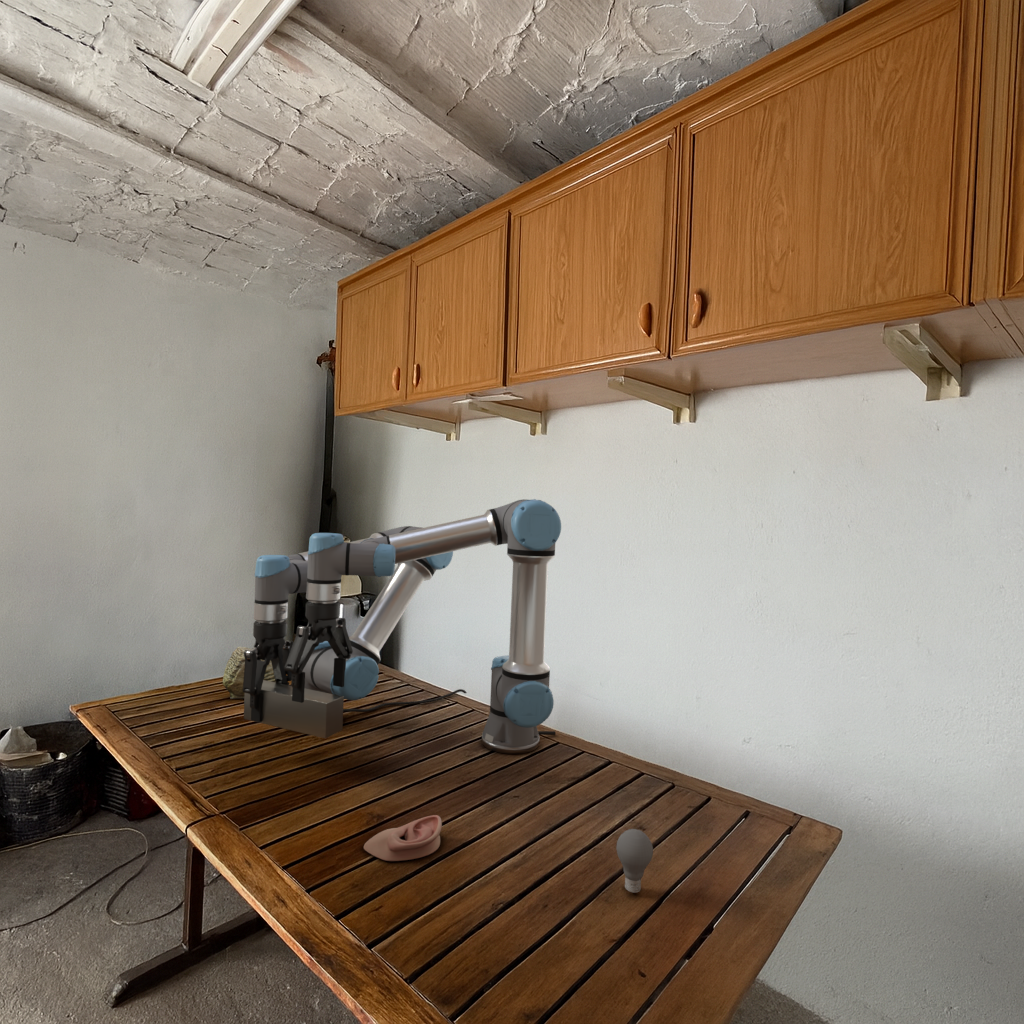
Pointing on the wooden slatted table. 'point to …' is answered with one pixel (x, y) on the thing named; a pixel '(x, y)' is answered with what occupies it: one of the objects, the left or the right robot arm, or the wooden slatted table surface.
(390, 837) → the anatomical model
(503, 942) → the wooden slatted table surface
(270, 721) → the bar
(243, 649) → the fossil
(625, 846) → the light bulb
